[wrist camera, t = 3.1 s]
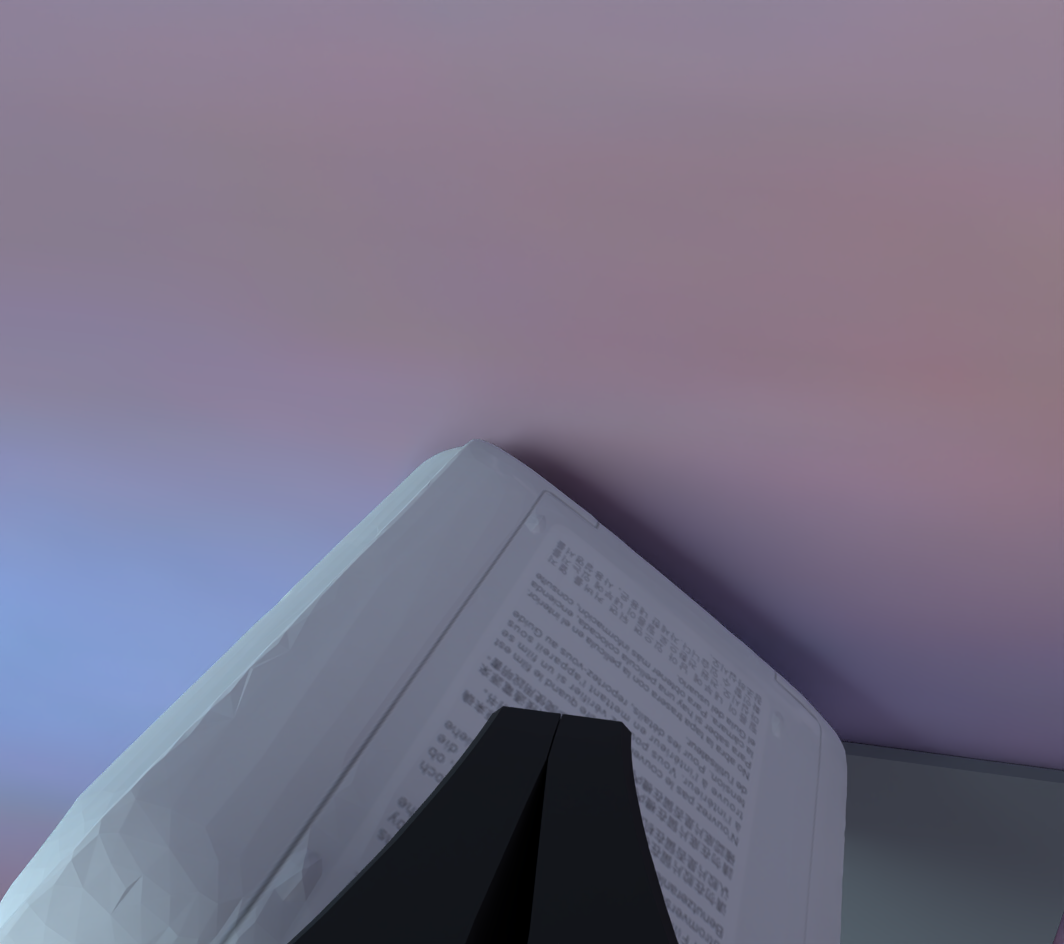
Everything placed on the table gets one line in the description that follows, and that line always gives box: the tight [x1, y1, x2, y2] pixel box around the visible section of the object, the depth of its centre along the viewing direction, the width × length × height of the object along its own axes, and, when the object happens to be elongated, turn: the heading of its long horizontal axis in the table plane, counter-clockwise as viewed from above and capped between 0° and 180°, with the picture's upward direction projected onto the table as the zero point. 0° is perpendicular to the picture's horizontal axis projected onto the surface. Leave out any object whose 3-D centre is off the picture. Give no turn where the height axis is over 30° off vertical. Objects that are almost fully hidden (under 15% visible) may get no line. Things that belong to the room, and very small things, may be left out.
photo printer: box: [0, 439, 847, 944], centre depth 13 cm, size 10×4×12 cm, turn 53°
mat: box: [840, 741, 1064, 944], centre depth 22 cm, size 12×17×1 cm
